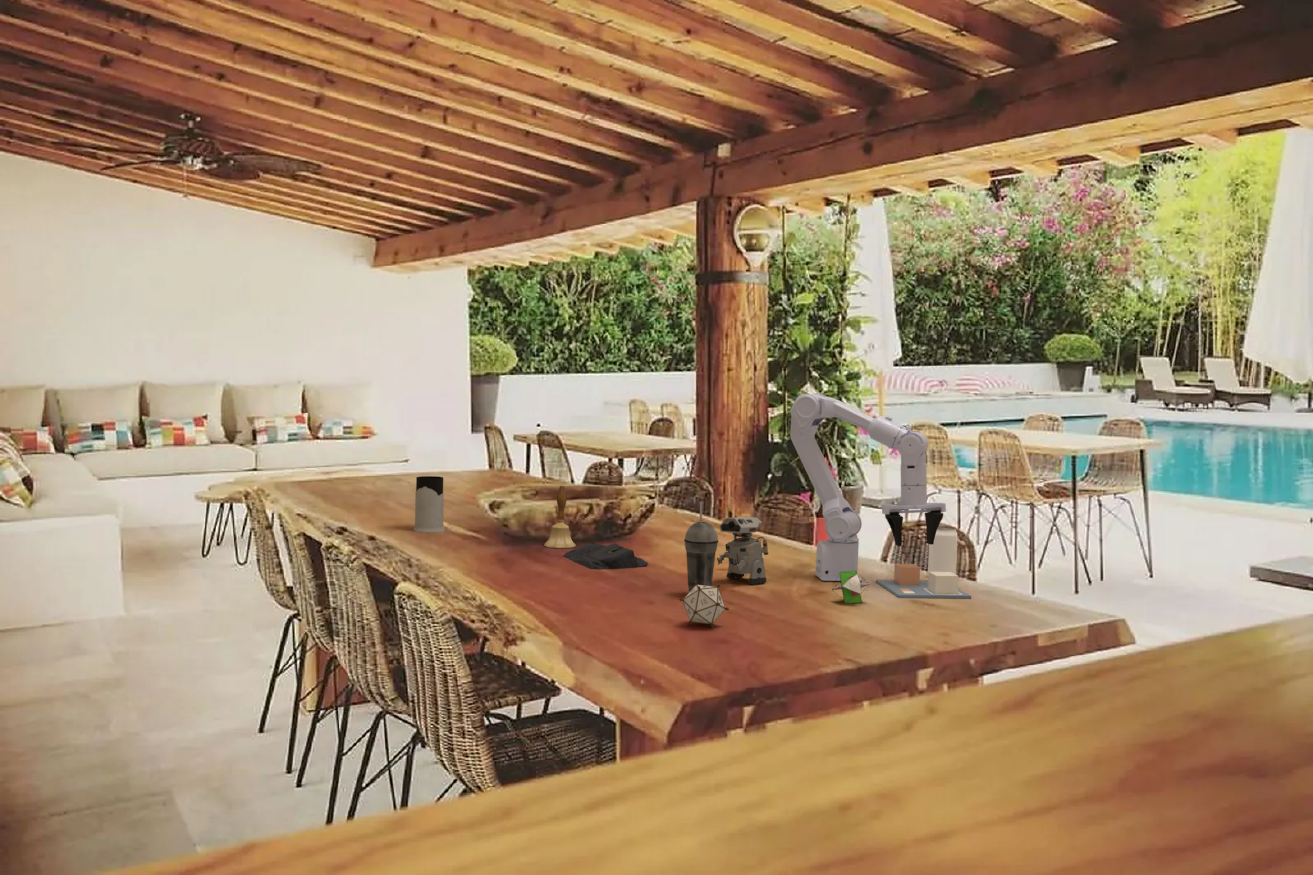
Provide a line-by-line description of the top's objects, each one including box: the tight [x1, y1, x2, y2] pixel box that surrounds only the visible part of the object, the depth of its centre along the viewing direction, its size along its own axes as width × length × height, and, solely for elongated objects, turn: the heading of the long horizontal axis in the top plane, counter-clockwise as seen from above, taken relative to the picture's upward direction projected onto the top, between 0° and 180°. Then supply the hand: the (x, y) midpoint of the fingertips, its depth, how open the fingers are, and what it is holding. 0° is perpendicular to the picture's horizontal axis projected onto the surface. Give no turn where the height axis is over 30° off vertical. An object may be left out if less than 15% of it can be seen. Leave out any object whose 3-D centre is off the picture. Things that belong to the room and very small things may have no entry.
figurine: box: [716, 515, 769, 586], centre depth 265 cm, size 9×12×15 cm
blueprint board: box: [875, 579, 972, 600], centre depth 262 cm, size 16×18×1 cm
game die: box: [678, 581, 731, 629], centre depth 220 cm, size 9×8×10 cm
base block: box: [927, 572, 959, 594], centre depth 257 cm, size 5×5×4 cm
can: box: [927, 525, 958, 575], centre depth 278 cm, size 6×6×12 cm
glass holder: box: [413, 475, 446, 534], centre depth 334 cm, size 9×14×15 cm, turn 171°
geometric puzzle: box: [831, 571, 870, 605], centre depth 246 cm, size 7×7×8 cm
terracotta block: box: [893, 563, 921, 585], centre depth 266 cm, size 4×4×4 cm
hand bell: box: [543, 485, 577, 549], centre depth 310 cm, size 8×8×16 cm
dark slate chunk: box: [562, 542, 649, 571], centre depth 288 cm, size 15×22×5 cm
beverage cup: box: [684, 501, 719, 593], centre depth 249 cm, size 7×7×20 cm
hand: (914, 544), depth 266 cm, fingers open, 7 cm apart
